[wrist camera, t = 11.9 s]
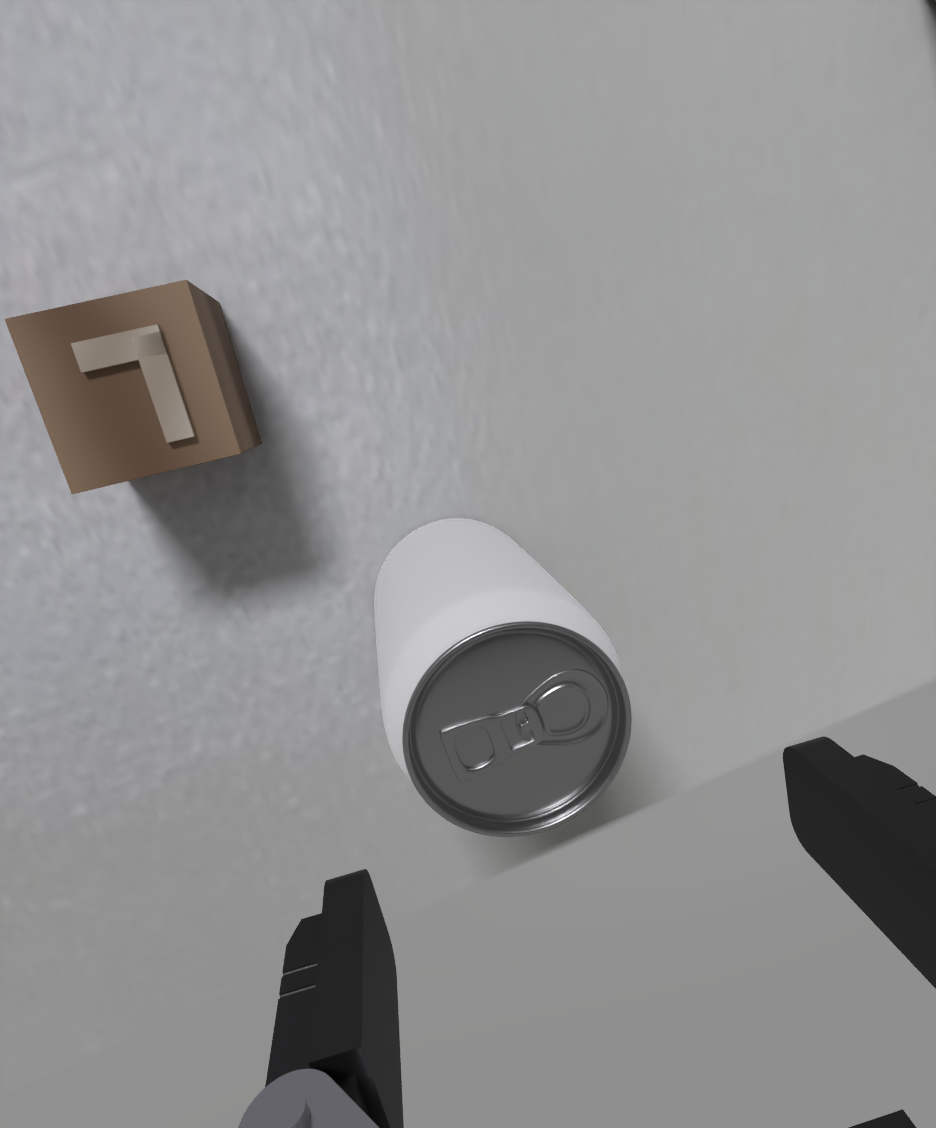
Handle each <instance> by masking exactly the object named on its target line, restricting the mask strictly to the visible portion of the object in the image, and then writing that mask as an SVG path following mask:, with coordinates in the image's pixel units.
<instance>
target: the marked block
mask: <svg viewBox="0 0 936 1128" xmlns="http://www.w3.org/2000/svg"><path fill="white" fill-rule="evenodd" d="M5 321H6V324H7V326H8V329H9V332H10V334H11V337H12V340H13V342H14V345H15V347H16V350H17V353H18V355H19V358H20V360H21V363H22V366H23V368H24V371H25V373H26V376H27V379H28V381H29V384H30V386H31V389H32V392H33V394H34V397H35V399H36V402H37V405H38V407H39V410H40V413H41V415H42V418H43V420H44V423H45V426H46V428H47V431H48V433H49V436H50V439H51V441H52V444H53V446H54V449H55V452H56V454H57V457H58V459H59V462H60V465H61V467H62V470H63V473H64V475H65V478H66V480H67V483H68V486H69V488H70V491H71V493H72V494H76V493H80V492H84V491H88V490H92V489H96V488H100V487H105V486H109V485H113V484H117V483H121V482H125V481H130V480H134V479H138V478H142V477H146V476H150V475H154V474H159V473H163V472H167V471H171V470H175V469H179V468H183V467H188V466H192V465H196V464H200V463H204V462H208V461H212V460H217V459H221V458H225V457H229V456H233V455H237V454H241V453H243V452H245V451H247V450H249V449H251V448H253V447H255V446H257V445H259V444H261V443H262V442H261V439H260V436H259V432H258V429H257V426H256V422H255V419H254V416H253V413H252V409H251V406H250V403H249V399H248V396H247V393H246V390H245V386H244V383H243V380H242V376H241V373H240V370H239V367H238V363H237V360H236V357H235V353H234V350H233V347H232V344H231V340H230V337H229V334H228V330H227V327H226V324H225V321H224V317H223V314H222V311H221V307H220V304H219V302H218V301H216V300H215V299H213V298H212V297H211V296H209V295H208V294H206V293H205V292H203V291H202V290H200V289H199V288H197V287H196V286H195V285H193V284H192V283H190V282H189V281H187V280H183V281H179V282H174V283H169V284H165V285H160V286H156V287H151V288H146V289H142V290H137V291H132V292H128V293H123V294H119V295H114V296H109V297H105V298H100V299H95V300H91V301H86V302H82V303H77V304H72V305H68V306H63V307H58V308H54V309H49V310H45V311H40V312H35V313H31V314H26V315H21V316H17V317H12V318H8V319H5Z"/></svg>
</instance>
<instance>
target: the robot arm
mask: <svg viewBox="0 0 936 1128" xmlns="http://www.w3.org/2000/svg"><path fill="white" fill-rule="evenodd" d="M935 2H936V0H935ZM783 763H784V770H785V779H786V787H787V795H788V803H789V811H790V818H791V822H792V825H793V828H794V831H795V833H796V835H797V837H798V839H799V841H800V843H801V844H802V846H803V847H804V848H805V850H806V851H807V852H808V853H809V855H810V856H811V857H812V858H814V860H815V861H816V862H817V863H818V864H819V865H820V866H821V867H822V868H823V869H824V870H825V872H826V873H827V874H828V875H829V876H830V877H831V878H832V879H833V880H834V881H835V882H836V883H837V884H838V885H839V886H840V887H841V888H842V890H843V891H844V892H845V893H846V894H847V895H848V896H849V897H850V898H851V899H852V900H853V901H854V902H855V903H856V904H857V905H858V907H859V908H860V909H861V910H862V911H863V912H864V913H865V914H866V915H867V916H868V917H869V918H870V919H871V920H872V921H873V922H874V924H875V925H876V926H877V927H878V928H879V929H880V930H881V931H882V932H883V933H884V934H885V935H886V936H887V937H888V938H889V939H890V941H891V942H892V943H893V944H894V945H895V946H896V947H897V948H898V949H899V950H900V951H901V952H902V953H903V954H904V955H905V956H906V957H907V959H908V960H909V961H910V962H911V963H912V964H913V965H914V966H915V967H916V968H917V969H918V970H919V971H920V972H921V973H922V975H923V976H924V977H925V978H926V979H927V980H928V981H929V982H930V983H931V984H932V985H933V986H934V987H935V988H936V796H935V795H933V794H931V793H930V792H929V791H928V790H926V789H925V788H923V787H922V786H921V787H919V786H918V784H917V782H915V781H914V780H912V779H911V778H910V777H908V776H907V775H905V774H904V773H903V772H901V771H900V770H899V769H897V768H896V767H894V766H892V765H889V764H887V763H884V762H882V761H879V760H876V759H874V758H871V757H868V756H866V755H860V756H857V757H853V756H852V755H851V754H849V753H848V752H847V751H846V750H844V749H843V748H842V747H840V746H839V745H838V744H836V743H835V742H834V741H832V740H831V739H829V738H827V737H820V738H816V739H813V740H810V741H806V742H803V743H799V744H796V745H793V746H789V747H786V748H785V749H784V752H783ZM279 994H280V999H279V1000H278V1007H277V1013H276V1020H275V1026H274V1033H273V1040H272V1046H271V1053H270V1060H269V1067H268V1073H267V1080H266V1085H265V1088H264V1089H263V1090H262V1091H261V1092H260V1093H259V1094H258V1095H257V1096H256V1097H255V1099H254V1100H253V1101H252V1102H251V1104H250V1105H249V1107H248V1108H247V1110H246V1112H245V1113H244V1115H243V1117H242V1119H241V1122H240V1124H239V1127H238V1128H404V1127H403V1107H402V1106H403V1105H402V1085H401V1062H400V1041H399V1018H398V996H397V976H396V966H395V959H394V953H393V948H392V944H391V940H390V936H389V933H388V930H387V927H386V924H385V921H384V918H383V914H382V911H381V908H380V905H379V902H378V899H377V896H376V893H375V890H374V887H373V884H372V880H371V878H370V875H369V873H368V871H367V870H366V869H364V870H360V871H357V872H354V873H350V874H347V875H343V876H340V877H336V878H333V879H330V880H327V881H326V882H325V886H324V897H323V908H322V913H321V914H318V915H314V916H311V917H308V918H304V919H301V921H300V923H299V925H298V926H297V928H296V930H295V932H294V933H293V935H292V937H291V939H290V940H289V942H288V944H287V946H286V952H285V959H284V966H283V977H282V979H281V986H280V993H279ZM849 1128H916V1127H915V1125H914V1124H913V1123H912V1121H911V1120H910V1119H909V1117H908V1116H907V1114H906V1113H905V1112H904V1110H900V1111H897V1112H894V1113H891V1114H888V1115H885V1116H882V1117H879V1118H876V1119H873V1120H870V1121H867V1122H864V1123H861V1124H858V1125H855V1126H852V1127H849Z"/></svg>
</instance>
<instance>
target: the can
mask: <svg viewBox="0 0 936 1128" xmlns="http://www.w3.org/2000/svg"><path fill="white" fill-rule="evenodd" d="M374 610H375V628H376V643H377V657H378V670H379V683H380V695H381V705H382V714H383V721H384V727H385V731H386V735H387V739H388V742H389V745H390V747H391V750H392V752H393V755H394V757H395V759H396V760H397V762H398V764H399V766H400V767H401V769H402V770H403V772H404V773H405V774H406V775H407V777H408V778H409V779H410V780H411V781H412V782H413V784H414V786H415V788H416V789H417V791H418V792H419V794H420V795H421V797H422V798H423V799H424V800H425V801H426V803H427V804H428V805H429V806H430V807H431V808H432V809H433V810H434V811H436V812H437V813H438V814H439V815H441V816H442V817H443V818H445V819H446V820H448V821H449V822H451V823H453V824H455V825H457V826H459V827H461V828H464V829H466V830H469V831H472V832H475V833H479V834H484V835H489V836H499V837H514V836H524V835H530V834H535V833H539V832H542V831H545V830H548V829H551V828H554V827H556V826H558V825H560V824H563V823H565V822H566V821H568V820H570V819H572V818H573V817H575V816H577V815H578V814H579V813H581V812H582V811H584V810H585V809H586V808H587V807H589V806H590V805H591V804H592V803H593V802H594V801H595V800H596V799H597V798H598V797H599V796H600V795H601V794H602V793H603V792H604V791H605V789H606V788H607V787H608V786H609V784H610V783H611V781H612V780H613V778H614V777H615V775H616V774H617V772H618V770H619V768H620V766H621V764H622V762H623V759H624V757H625V754H626V751H627V747H628V744H629V739H630V733H631V706H630V700H629V696H628V692H627V689H626V686H625V683H624V681H623V675H622V670H621V666H620V662H619V659H618V656H617V654H616V651H615V649H614V647H613V645H612V643H611V642H610V640H609V638H608V637H607V635H606V634H605V632H604V631H603V629H602V628H601V627H600V625H599V624H598V623H597V622H596V621H595V619H594V618H593V617H592V616H591V615H590V614H589V613H588V612H587V611H586V610H585V609H584V608H583V607H582V606H581V605H580V604H579V603H578V602H577V601H576V600H575V599H574V598H573V597H572V596H571V595H570V594H569V593H568V592H567V591H566V590H565V589H564V588H563V587H562V586H561V585H560V584H559V583H558V582H557V581H556V580H555V579H554V578H553V577H551V576H550V575H549V574H548V573H547V572H546V571H545V570H544V569H543V568H542V567H541V566H540V565H539V564H538V563H537V562H536V561H535V560H534V559H533V558H532V557H531V556H529V555H528V554H527V553H526V552H525V551H524V550H523V549H522V548H521V547H520V546H519V545H518V544H517V543H515V542H514V541H513V540H512V539H511V538H510V537H508V536H507V535H506V534H505V533H503V532H502V531H500V530H498V529H497V528H495V527H493V526H491V525H488V524H486V523H483V522H480V521H476V520H471V519H462V518H453V519H444V520H439V521H435V522H432V523H429V524H426V525H424V526H422V527H420V528H418V529H416V530H414V531H413V532H411V533H409V534H408V535H407V536H405V537H404V538H403V539H402V540H401V541H400V542H399V543H398V544H397V545H396V546H395V547H394V548H393V549H392V551H391V552H390V553H389V555H388V556H387V558H386V559H385V561H384V563H383V565H382V567H381V569H380V572H379V575H378V578H377V582H376V587H375V595H374Z"/></svg>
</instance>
